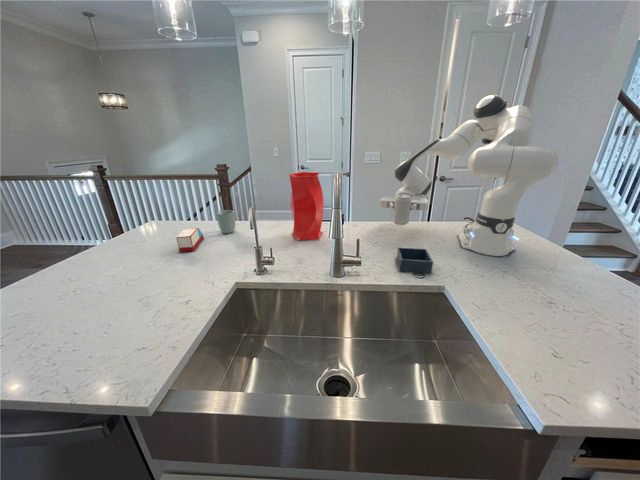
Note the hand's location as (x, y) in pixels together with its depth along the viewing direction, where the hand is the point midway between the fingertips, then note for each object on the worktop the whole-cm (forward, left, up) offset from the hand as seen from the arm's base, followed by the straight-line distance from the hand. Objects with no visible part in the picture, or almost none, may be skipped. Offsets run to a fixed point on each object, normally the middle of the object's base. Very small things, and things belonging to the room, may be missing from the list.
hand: (402, 208), depth 108 cm
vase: (0, -41, -15) cm, 43 cm away
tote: (+24, +2, -15) cm, 28 cm away
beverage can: (-1, 0, -7) cm, 7 cm away
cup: (0, -81, -15) cm, 82 cm away
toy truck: (+17, -89, -15) cm, 92 cm away
